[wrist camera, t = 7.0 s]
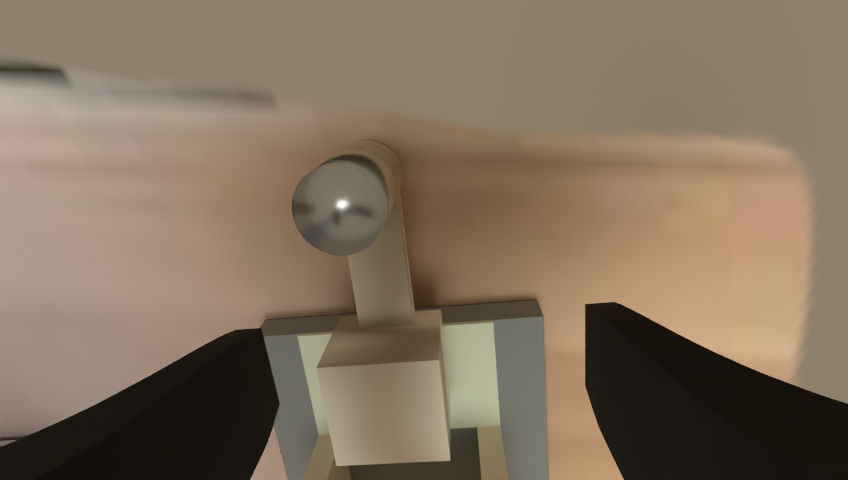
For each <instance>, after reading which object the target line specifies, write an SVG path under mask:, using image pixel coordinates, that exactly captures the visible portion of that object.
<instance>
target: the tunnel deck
mask: <svg viewBox="0 0 848 480" xmlns="http://www.w3.org/2000/svg"><path fill="white" fill-rule="evenodd" d="M427 310H441V316H442V325H443V335H444V344H445V353H446V363H447V372H448V382H449V391H450V461H431V462H411V463H390V464H369V465H348V466H336V461H335V456H334V451H333V446H332V442H331V437H330V432H329V427H328V422H327V417H326V413H325V408H324V403H323V398H322V393H321V389H320V384H319V379H318V374H317V369H316V368H317V365H318V363H319V361H320V359H321V357H322V355H323V352H324V350H325V348H326V346H327V344H328V342H329V339H330V337H331V335H332V333H333V331H334V329H335V326H336V324H337V322H338V320H339V318H340V317H347V316H357V313H353V314H339V315H326V316H313V317H299V318H286V319H272V320H265V321H264V323H263V324H262V325H261V326H260V328H262V332H263V336H264V341H265V345H266V349H267V353H268V357H269V361H270V365H271V369H272V373H273V378H274V382H275V386H276V390H277V394H278V398H279V402H280V405H279V408H278V412H277V415H276V418H275V421H274V426H275V430H276V434H277V438H278V442H279V446H280V450H281V454H282V458H283V462H284V466H285V470H286V474H287V478H288V480H549V476H548V444H547V412H546V379H545V347H544V316H543V314H542V311H541V309H540V306H539V304H538V301H537V300H527V301H514V302H500V303H487V304H474V305H460V306H447V307H433V308H420V309H415V311H427Z"/></svg>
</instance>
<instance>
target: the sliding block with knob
mask: <svg viewBox="0 0 848 480" xmlns="http://www.w3.org/2000/svg"><path fill="white" fill-rule="evenodd" d="M402 182H403V171H402V167H401V164H400V161H399V159H398V158H397V156H396V155H395V154H394V152H393V151H392V150H390V149H389V148H388V147H386V146H385V145H383V144H381V143H378V142H374V141H361V142H357V143H354V144H352V145H350V146H349V147H347V148H346V149H344V150H343V151H341V152H340V153H338V154H337V155H335V156H333V157H332V158H330V159H329V160H327V161H326V162H324V163H323V164H321V165H320V166H318V167H317V168H315V169H313V170H312V171H310V172H309V173H308V174H306V175H305V176H304V177H303V178H302V180H301V181H300V182H299V184H298V185H297V187H296V189H295V192H294V195H293V199H292V214H293V218H294V222H295V224H296V227H297V228H298V230H299V232H300V233H301V235H302V236H303V237H304V238H305V239H306V241H307V242H309V243H310V244H311V245H312V246H314V247H315V248H317V249H319V250H321V251H323V252H326V253H328V254H333V255H347V257H348V262H349V268H350V274H351V280H352V286H353V292H354V298H355V304H356V310H357V316H347V317H340V318H339V320H338V322H337V324H336V326H335V329H334V331H333V333H332V335H331V337H330V339H329V342H328V344H327V346H326V348H325V350H324V352H323V355H322V357H321V359H320V361H319V363H318V365H317V368H316V369H317V374H318V379H319V384H320V389H321V393H322V398H323V403H324V408H325V413H326V417H327V422H328V427H329V432H330V437H331V442H332V446H333V451H334V456H335V461H336V466H348V465H369V464H390V463H411V462H431V461H450V391H449V382H448V372H447V363H446V353H445V344H444V335H443V325H442V316H441V310H427V311H415V308H414V300H413V292H412V284H411V276H410V269H409V261H408V253H407V245H406V237H405V229H404V221H403V213H402V205H401V197H400V189H401V186H402Z"/></svg>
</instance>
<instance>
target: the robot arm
mask: <svg viewBox="0 0 848 480" xmlns="http://www.w3.org/2000/svg"><path fill="white" fill-rule="evenodd" d="M585 386H586V389H587V392H588V395H589V398H590V402H591V405H592V408H593V411H594V414H595V417H596V420H597V423H598V426H599V428H600V430H601V432H602V435H603V437H604V439H605V441H606V443H607V445H608V447H609V449H610V451H611V454H612V456H613V458H614V460H615V462H616V464H617V466H618V468H619V470H620V472H621V474H622V476H623V478H624V480H848V404H847V403H843V402H840V401H837V400H834V399H831V398H828V397H825V396H822V395H819V394H816V393H813V392H810V391H808V390H805V389H802V388H800V387H797V386H794V385H792V384H789V383H786V382H784V381H781V380H778V379H776V378H773V377H770V376H768V375H765V374H763V373H760V372H758V371H755V370H753V369H751V368H748V367H746V366H744V365H741V364H739V363H737V362H735V361H733V360H730V359H728V358H726V357H724V356H722V355H719V354H717V353H715V352H713V351H711V350H709V349H707V348H704V347H702V346H700V345H698V344H696V343H694V342H692V341H690V340H688V339H686V338H684V337H682V336H680V335H679V334H677V333H675V332H673V331H671V330H669V329H667V328H665V327H663V326H661V325H659V324H658V323H656V322H654V321H652V320H650V319H648V318H646V317H644V316H643V315H641V314H639V313H637V312H635V311H633V310H631V309H629V308H627V307H625V306H623V305H621V304H618V303H616V302H610V303H597V304H585ZM279 405H280V402H279V398H278V394H277V390H276V386H275V382H274V378H273V373H272V369H271V365H270V361H269V357H268V353H267V349H266V345H265V341H264V336H263V332H262V328H256V329H243V330H235V331H232V332H230V333H227V334H225V335H223V336H221V337H219V338H217V339H215V340H213V341H211V342H209V343H207V344H205V345H204V346H202V347H200V348H198V349H196V350H195V351H193V352H191V353H189V354H188V355H186V356H184V357H182V358H181V359H179V360H177V361H175V362H173V363H172V364H170V365H168V366H166V367H165V368H163V369H161V370H159V371H158V372H156V373H154V374H152V375H151V376H149V377H147V378H145V379H143V380H141V381H139V382H137V383H136V384H134V385H132V386H130V387H128V388H126V389H124V390H122V391H121V392H119V393H117V394H115V395H113V396H111V397H109V398H107V399H106V400H104V401H102V402H100V403H98V404H96V405H94V406H92V407H90V408H88V409H86V410H84V411H82V412H79V413H77V414H75V415H73V416H71V417H69V418H67V419H64V420H62V421H60V422H58V423H56V424H53V425H51V426H49V427H47V428H45V429H42V430H40V431H38V432H36V433H33V434H31V435H29V436H26V437H24V438H21V439H19V440H6V441H0V480H250V478H251V476H252V474H253V472H254V470H255V468H256V466H257V464H258V462H259V460H260V458H261V456H262V453H263V451H264V449H265V447H266V445H267V442H268V439H269V436H270V433H271V431H272V428H273V425H274V421H275V418H276V415H277V412H278V408H279Z"/></svg>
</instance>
